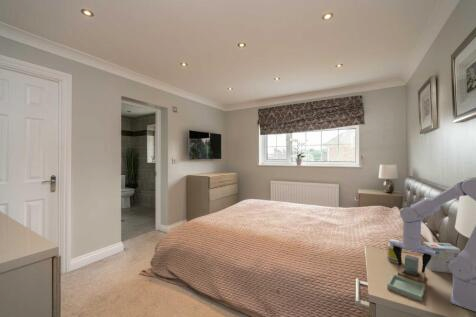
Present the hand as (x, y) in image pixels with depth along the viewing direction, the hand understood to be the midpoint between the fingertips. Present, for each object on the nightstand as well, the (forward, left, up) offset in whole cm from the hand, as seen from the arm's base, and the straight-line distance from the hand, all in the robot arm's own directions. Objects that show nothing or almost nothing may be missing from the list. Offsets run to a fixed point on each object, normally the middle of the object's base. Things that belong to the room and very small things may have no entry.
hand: (411, 268), depth 90 cm
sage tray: (0, +12, -4) cm, 13 cm away
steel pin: (0, 0, -4) cm, 4 cm away
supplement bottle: (+8, -11, -4) cm, 14 cm away
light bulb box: (-8, -17, -4) cm, 19 cm away
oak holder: (0, 0, -4) cm, 4 cm away
